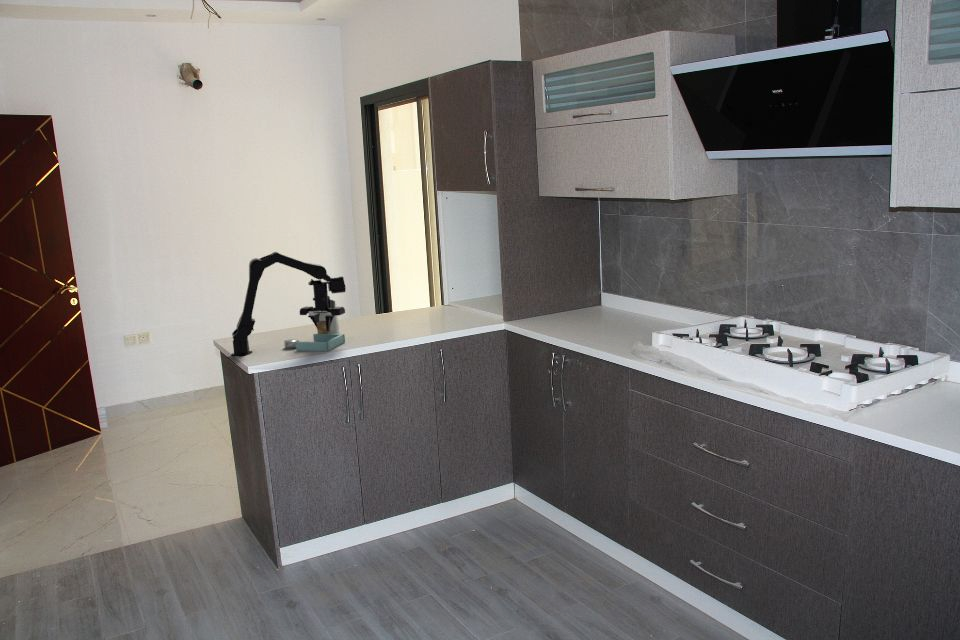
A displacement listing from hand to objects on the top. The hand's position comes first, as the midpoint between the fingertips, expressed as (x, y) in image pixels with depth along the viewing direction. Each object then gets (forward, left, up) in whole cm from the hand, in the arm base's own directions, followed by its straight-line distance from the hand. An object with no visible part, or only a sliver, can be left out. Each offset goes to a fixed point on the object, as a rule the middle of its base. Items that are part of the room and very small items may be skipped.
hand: (323, 330), depth 339 cm
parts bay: (-4, 0, -6) cm, 7 cm away
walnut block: (0, 0, -1) cm, 1 cm away
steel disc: (-7, +12, -6) cm, 15 cm away
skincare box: (+12, +4, -6) cm, 14 cm away
